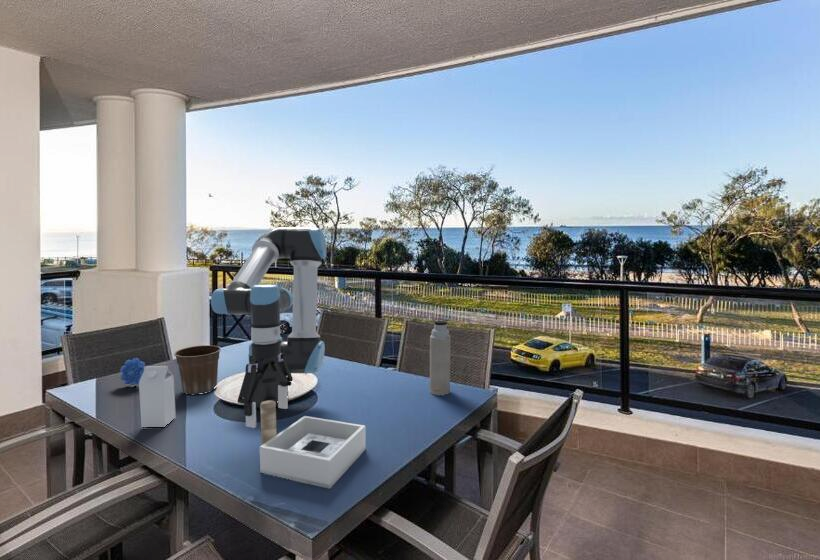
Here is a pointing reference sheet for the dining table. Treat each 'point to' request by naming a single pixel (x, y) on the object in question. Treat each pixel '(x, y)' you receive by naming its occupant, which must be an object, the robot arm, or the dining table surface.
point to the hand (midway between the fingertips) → (267, 416)
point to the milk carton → (157, 396)
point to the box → (310, 466)
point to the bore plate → (317, 445)
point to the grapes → (132, 371)
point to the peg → (268, 420)
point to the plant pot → (198, 368)
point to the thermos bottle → (440, 359)
